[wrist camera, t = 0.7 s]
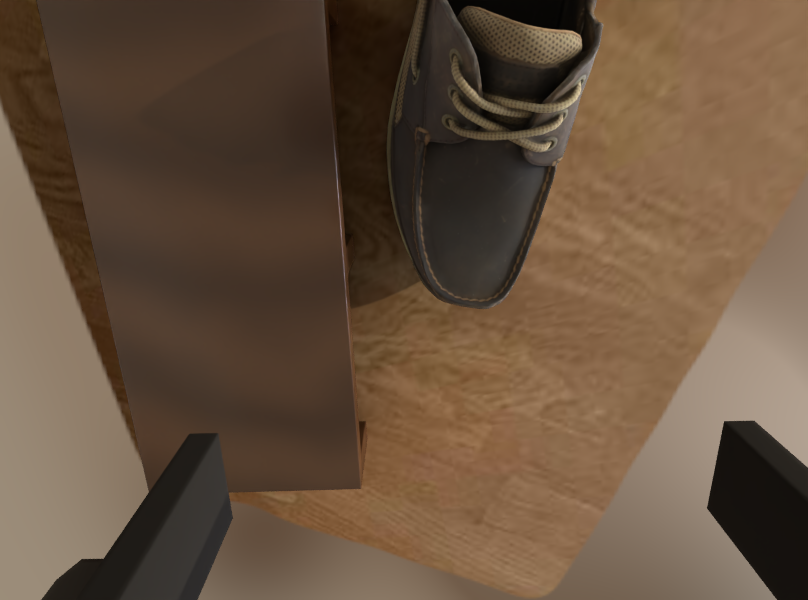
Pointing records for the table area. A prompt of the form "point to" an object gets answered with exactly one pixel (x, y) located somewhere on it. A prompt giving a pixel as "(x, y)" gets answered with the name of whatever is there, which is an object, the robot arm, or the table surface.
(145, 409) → the small wooden pallet
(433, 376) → the table surface
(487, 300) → the boat shoe
